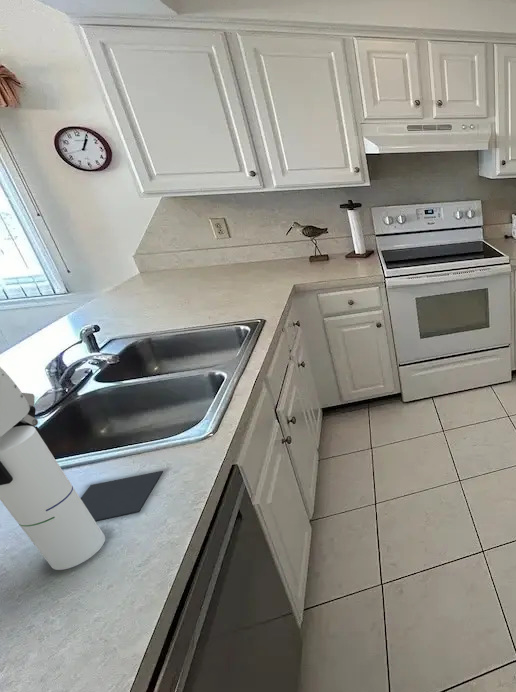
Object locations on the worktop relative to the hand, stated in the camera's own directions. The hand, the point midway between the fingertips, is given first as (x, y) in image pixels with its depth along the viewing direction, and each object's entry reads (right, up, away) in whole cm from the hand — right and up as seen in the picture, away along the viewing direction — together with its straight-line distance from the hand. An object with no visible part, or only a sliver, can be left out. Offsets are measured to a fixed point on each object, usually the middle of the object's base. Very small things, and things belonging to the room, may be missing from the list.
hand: (18, 464), depth 64 cm
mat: (-3, -13, +19) cm, 23 cm away
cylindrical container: (0, -18, +9) cm, 20 cm away
